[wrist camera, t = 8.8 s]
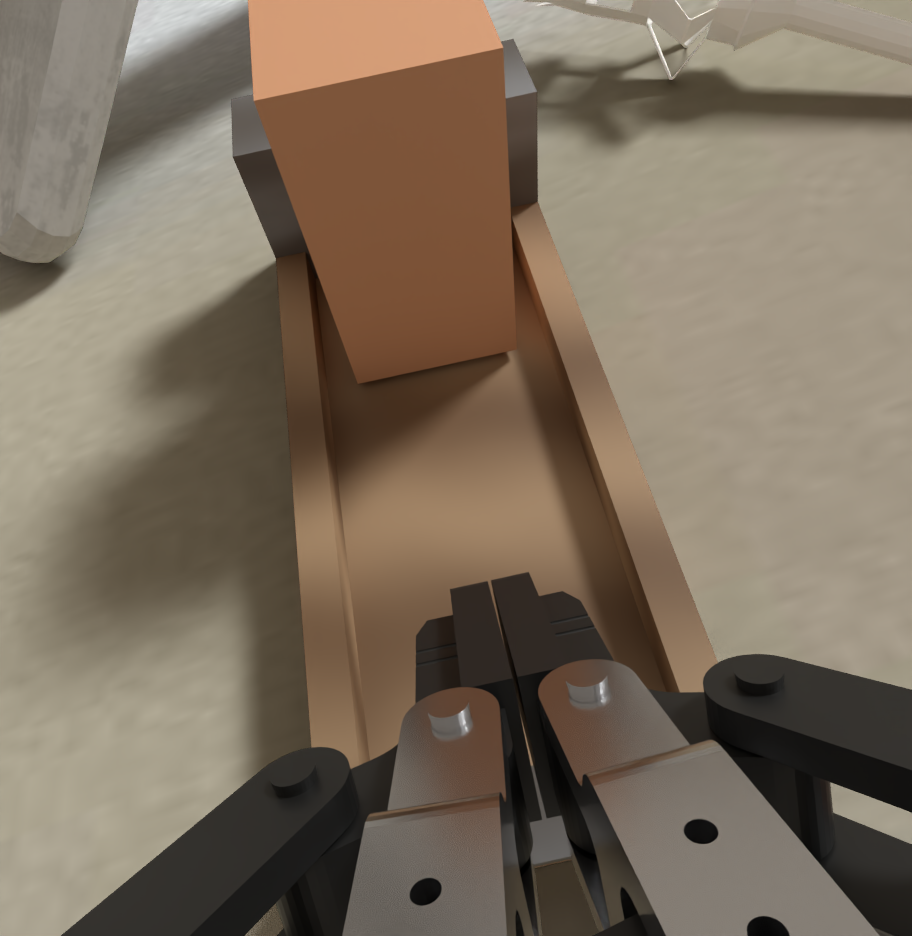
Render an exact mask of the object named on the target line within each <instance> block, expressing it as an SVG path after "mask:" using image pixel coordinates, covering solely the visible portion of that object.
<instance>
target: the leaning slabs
mask: <svg viewBox="0 0 912 936" xmlns="http://www.w3.org/2000/svg"><path fill="white" fill-rule="evenodd" d="M137 3H138V0H0V252H1V253H2V254H4V255H7V256H9V257H12V258H14V259H17V260H20V261H25V262H31V263H49V262H51V261H52V260H54V259H55V258H57V257H58V256H60V255H61V254H63V253H64V252H65V251H67V250H68V249H69V248H71V247H72V246H73V245H74V244H75V243H76V241H77V239H78V237H79V234H80V232H81V230H82V228H83V224H84V220H85V216H86V212H87V208H88V204H89V200H90V196H91V192H92V187H93V183H94V179H95V175H96V171H97V167H98V163H99V159H100V155H101V151H102V147H103V142H104V138H105V134H106V130H107V126H108V122H109V118H110V114H111V110H112V106H113V101H114V97H115V93H116V89H117V85H118V81H119V77H120V73H121V69H122V65H123V61H124V56H125V52H126V48H127V44H128V40H129V36H130V32H131V28H132V24H133V20H134V16H135V11H136V7H137Z"/></svg>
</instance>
